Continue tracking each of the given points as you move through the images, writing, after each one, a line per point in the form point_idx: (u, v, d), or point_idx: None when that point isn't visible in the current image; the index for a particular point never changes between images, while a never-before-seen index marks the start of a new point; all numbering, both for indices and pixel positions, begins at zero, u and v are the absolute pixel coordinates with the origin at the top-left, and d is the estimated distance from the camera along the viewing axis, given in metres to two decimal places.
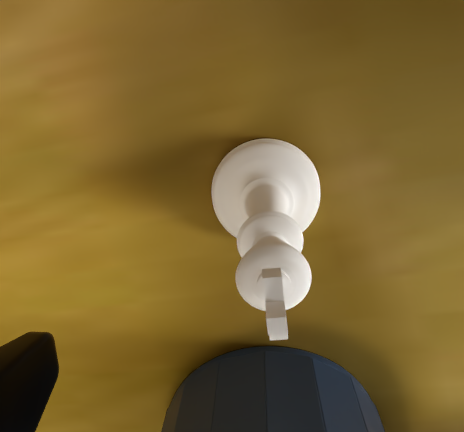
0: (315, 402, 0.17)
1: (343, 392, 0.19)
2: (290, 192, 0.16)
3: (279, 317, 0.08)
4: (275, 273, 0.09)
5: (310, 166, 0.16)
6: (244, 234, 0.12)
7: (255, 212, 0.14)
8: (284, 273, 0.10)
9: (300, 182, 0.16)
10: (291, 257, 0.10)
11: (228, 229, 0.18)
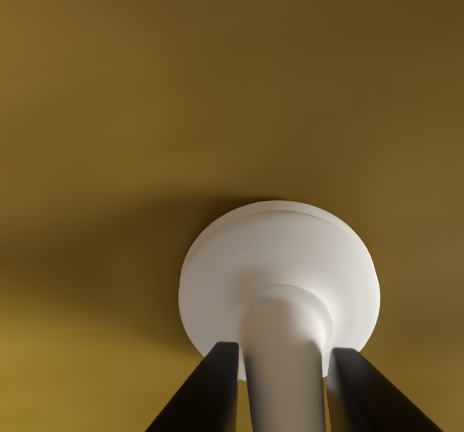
0: None
1: None
2: (328, 314, 0.08)
3: None
4: None
5: (364, 256, 0.09)
6: None
7: (259, 394, 0.06)
8: None
9: (345, 288, 0.09)
10: None
11: None
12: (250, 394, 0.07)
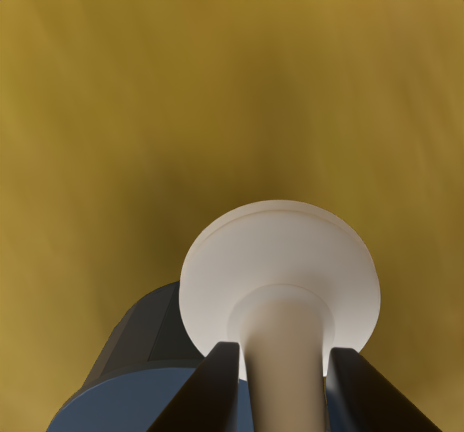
0: None
1: None
2: (328, 313, 0.08)
3: None
4: None
5: (364, 256, 0.09)
6: None
7: (260, 393, 0.06)
8: None
9: (345, 287, 0.09)
10: None
11: None
12: (251, 393, 0.07)
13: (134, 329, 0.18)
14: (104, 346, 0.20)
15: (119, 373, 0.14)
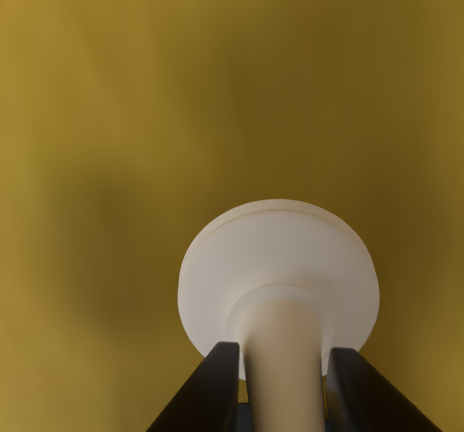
0: None
1: None
2: (327, 313, 0.08)
3: None
4: None
5: (363, 255, 0.09)
6: None
7: (258, 393, 0.06)
8: None
9: (344, 286, 0.09)
10: None
11: None
12: (249, 393, 0.07)
13: None
14: None
15: None
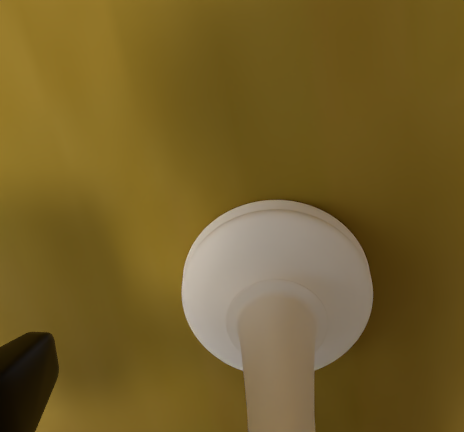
0: None
1: None
2: (322, 308, 0.09)
3: None
4: None
5: (358, 255, 0.09)
6: None
7: (254, 379, 0.07)
8: None
9: (339, 284, 0.09)
10: None
11: (209, 350, 0.10)
12: (245, 379, 0.07)
13: None
14: None
15: None
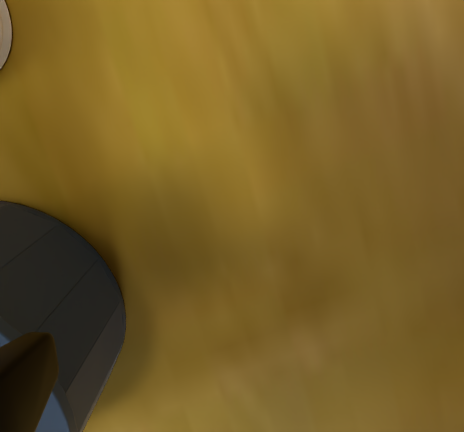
0: (102, 379, 0.17)
1: (104, 383, 0.19)
2: None
3: None
4: None
5: None
6: None
7: None
8: None
9: None
10: None
11: None
12: None
13: None
14: None
15: None
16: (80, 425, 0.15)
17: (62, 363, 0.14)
